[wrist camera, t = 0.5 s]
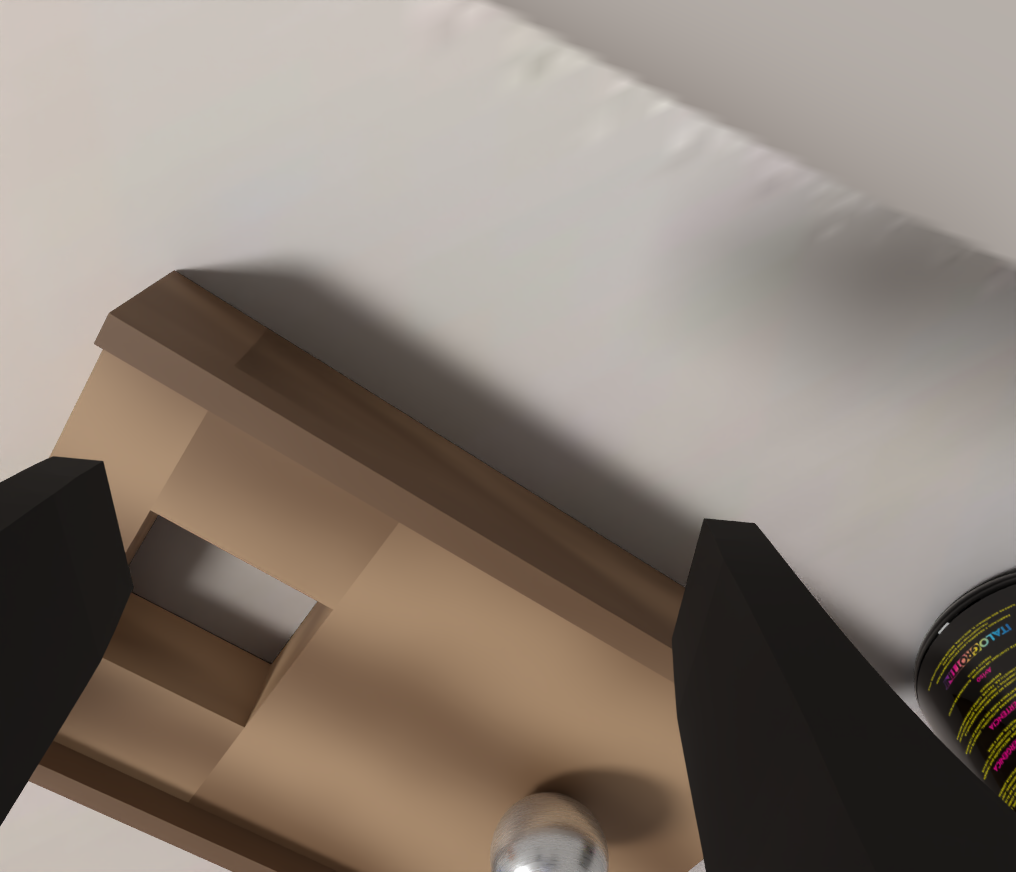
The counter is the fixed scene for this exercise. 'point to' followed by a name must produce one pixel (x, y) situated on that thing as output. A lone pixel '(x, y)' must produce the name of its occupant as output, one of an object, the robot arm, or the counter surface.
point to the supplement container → (974, 682)
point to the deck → (356, 626)
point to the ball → (548, 837)
